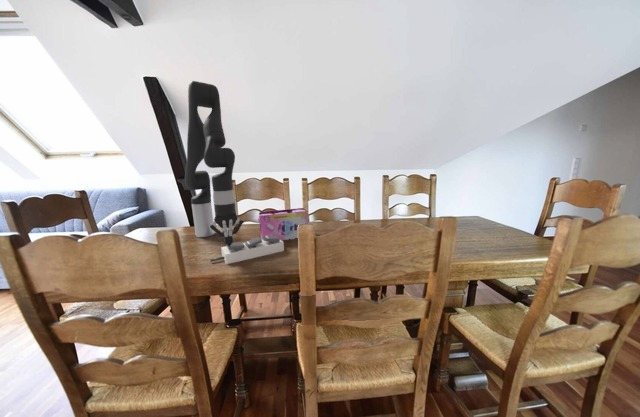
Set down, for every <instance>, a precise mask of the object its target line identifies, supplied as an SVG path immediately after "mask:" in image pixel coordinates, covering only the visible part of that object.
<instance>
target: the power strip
mask: <svg viewBox="0 0 640 417" xmlns="http://www.w3.org/2000/svg"><path fill="white" fill-rule="evenodd" d="M260 239H261V240H262V243H260V244H257V245H255V246H252V247H250V248H248V247H247V246H246V245H245V242H242V243H243V244H244V248H241V249H233V250H229V249H228V248H227V246H221V247H220V249H221V250H220V252H221V257H216V258H211V259H209V260H210V263H212V262H217V261H221V260H222V261H224V262H225V264H226V265H230V264H233V263H238V262H241V261H246V260H247V261H248V260H251V259H255V258H260V257H263V256H269V255H273V254H277V253H282V252H284V251H285V245H284V244H285V243H284V240H282V241H281V240H280V242H266V241H265V240H264V239H262V238H260Z"/></svg>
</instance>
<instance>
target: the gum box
mask: <svg viewBox="0 0 640 417" xmlns="http://www.w3.org/2000/svg"><path fill="white" fill-rule="evenodd" d="M308 211H309V210H307V209H306V208H304V207H297V208H291V209H289V208H288V209H278V210H265V211H260V212H259V213H258V217H257V221H258V223H259V230H260V237H261V238H260V239H263V236H277V237H278V238H279V239H280V240H281V241H289V239H290V240H295V238H297V227H298V225H299V224H300V223H305V224H308V225H309V222H308V221H309V212H308ZM297 239H298V238H297Z"/></svg>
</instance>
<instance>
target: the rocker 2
mask: <svg viewBox="0 0 640 417" xmlns="http://www.w3.org/2000/svg"><path fill="white" fill-rule="evenodd" d="M261 239H262V238H260V237H259V236H256V237H254V238H251V239H249V240H246V241H245V242H244V243H245V245H246V246H247V247H248V248H250V247H252V246H255V245H257V244H260V243H262V240H261Z"/></svg>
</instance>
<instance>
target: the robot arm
mask: <svg viewBox="0 0 640 417" xmlns="http://www.w3.org/2000/svg"><path fill="white" fill-rule="evenodd" d="M187 92H188V93H187V95H188V96H187V98H188V102H187V103H188V125H187V126H188V127H187V138H186V141H187V142H186V144H187V145H186V148H187V149H186V150H187V151H186V164H185V172H184V184H185V185H184V186H185V188H186V189H187V190H189V191H197V190H201V191H200V192H199V193H198V194H196V195H194V196H192V197H191V199H190V202H191V210H192V217H193V224H194V233H195V236H196V237H197V238H207V237H211V236H214V235H215V234H217V235H218V236H219V237H223V239H224V240H223V241H224V244H225V245H227V246H229V245H231V244H232V243H234V241H233V240H234V239H233V235H235V234H237V233H238V231H239V230H240V228H241V227H242V226H243V224H244V220H243V219H242V218H239V217H238V215H237V211H236V202H235V201H236V198H235V193H234V186H233V170H234V165H235V161H236V154H235V152H234V151H233V150H232V148H230V147H225V146H226V143H227V142H226V137H225V131H224V128H223V123H222V113H221V112H222V110H221V108H222V107H221V100H220V98H221V97H220V93H219V89H218V87H217V86H216V85H214V84H211V83H206V82H201V81H197V80H196V81H195V80H191V81H190V82H189V84H188V89H187ZM199 107H200V108H201V107H202V108H207V109H211V111H210V113H209V115H208V116H207V117H206V118H205V120H204V122H203V121H202V119H201V117H200V115H199V112H198V111H199V110H198V108H199ZM202 161H203V162H204V164H205V165H206V166H207V167H208V168H210V169H211V168H212V169H213V168H215V169H217V168H224V170H223V172H220V173H216V174H214V175H212V176H211V179H210V175H209V172H207V170H197V168H198V166H199V165H200V163H201V162H202ZM211 184H212V190H211ZM211 192H212V193H211ZM212 194H213V195H212ZM212 199H213V206H212ZM213 207H214V214H213ZM214 216H215V217H214ZM217 227H219V228H221V230H222V231H221V230H220V229H218V228H217Z"/></svg>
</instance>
